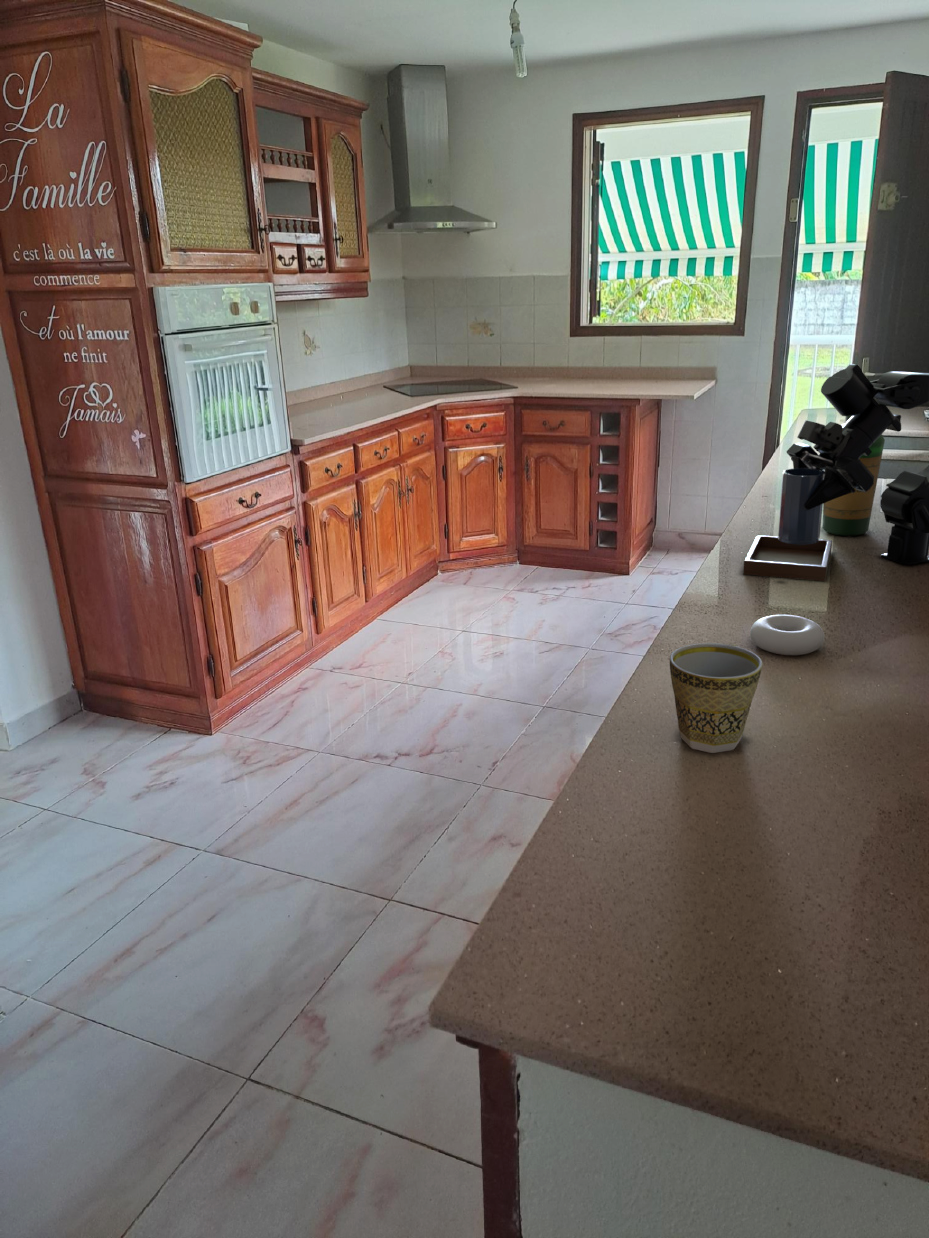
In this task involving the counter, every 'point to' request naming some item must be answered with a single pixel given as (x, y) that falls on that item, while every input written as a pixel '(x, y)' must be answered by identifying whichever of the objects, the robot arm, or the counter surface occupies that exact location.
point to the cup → (799, 507)
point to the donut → (787, 634)
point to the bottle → (854, 500)
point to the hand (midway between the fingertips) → (794, 503)
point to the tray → (788, 559)
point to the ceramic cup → (713, 693)
